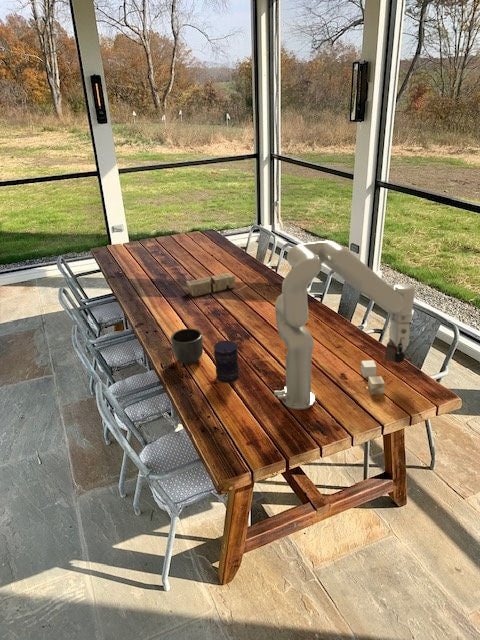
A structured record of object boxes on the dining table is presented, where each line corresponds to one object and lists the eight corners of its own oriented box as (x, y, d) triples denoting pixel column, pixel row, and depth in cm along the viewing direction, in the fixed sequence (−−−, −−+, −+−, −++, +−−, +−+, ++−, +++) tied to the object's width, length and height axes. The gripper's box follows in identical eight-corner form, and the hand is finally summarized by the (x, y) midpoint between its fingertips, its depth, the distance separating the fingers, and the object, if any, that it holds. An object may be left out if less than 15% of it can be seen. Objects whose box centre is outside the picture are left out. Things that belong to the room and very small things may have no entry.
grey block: (363, 377, 192) (364, 367, 189) (360, 370, 196) (361, 360, 194) (375, 376, 192) (376, 366, 189) (372, 370, 196) (373, 360, 194)
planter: (170, 357, 215) (167, 332, 209) (198, 349, 220) (196, 325, 214) (179, 371, 204) (175, 346, 198) (208, 363, 208) (206, 338, 202)
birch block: (370, 394, 181) (371, 384, 179) (367, 387, 185) (368, 376, 183) (383, 394, 181) (384, 383, 179) (380, 386, 185) (381, 376, 183)
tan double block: (230, 284, 294) (186, 293, 283) (230, 272, 290) (185, 280, 280) (235, 288, 287) (191, 297, 277) (235, 276, 284) (190, 284, 273)
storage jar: (217, 370, 203) (214, 340, 196) (239, 369, 202) (237, 340, 195) (215, 383, 194) (212, 352, 187) (239, 382, 193) (236, 352, 187)
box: (390, 353, 187) (392, 337, 184) (405, 357, 184) (407, 341, 180) (384, 359, 183) (386, 343, 180) (399, 364, 180) (401, 347, 176)
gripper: (418, 326, 167) (412, 367, 175) (403, 306, 183) (398, 344, 190) (397, 326, 167) (392, 367, 175) (384, 306, 183) (379, 345, 191)
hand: (395, 355), depth 183 cm, fingers closed on box, 8 cm apart
